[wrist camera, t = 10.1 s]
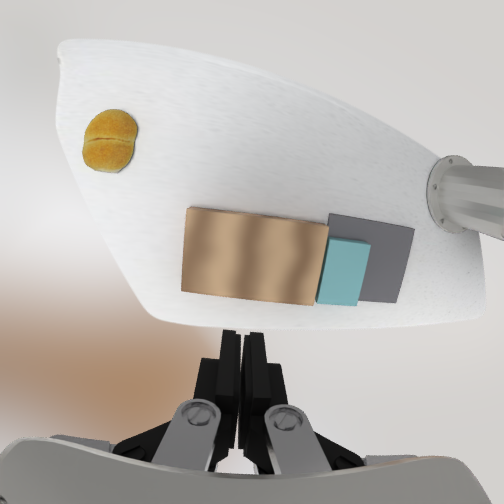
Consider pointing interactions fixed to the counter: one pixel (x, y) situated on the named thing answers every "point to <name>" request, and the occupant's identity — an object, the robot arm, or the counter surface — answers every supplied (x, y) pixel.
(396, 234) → the charcoal mat
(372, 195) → the counter surface
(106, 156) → the bread roll
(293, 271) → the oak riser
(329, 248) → the teal tile
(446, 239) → the counter surface
